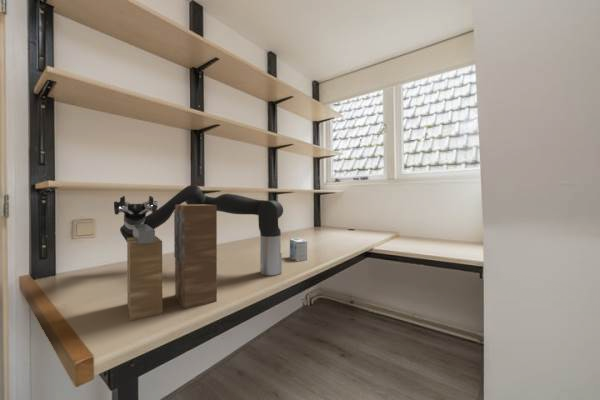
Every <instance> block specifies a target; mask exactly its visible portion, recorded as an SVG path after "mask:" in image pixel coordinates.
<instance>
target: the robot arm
mask: <svg viewBox="0 0 600 400" xmlns="http://www.w3.org/2000/svg"><path fill="white" fill-rule="evenodd" d="M183 203H186V205H192V204H206V205H217V212H222V213H226V214H231V215H255V216H258V217H257V219H258V229H259V232H260V239H259V241H260V245H259V250H260V253H259V255H260V256H259V257H260V260H259V261H260V267H259V269H260V274H261V275H263V276H277V275H281V274H282V273H283V272H282V271H283V270H282V266H283V265H282V263H283V260H282V259H283V257H282V251H281V250H282V249H281V247H282V245H281V243H282V242H281V240H282V239H281V229H280V227H279V219H280V217H282V215H283V213H284V206H283V205H282V204H281V203H280V202H279V201H277V200H273V199H272V200H268V199H267V200H264V199H263V200H262V199H255V198H251V197H248V196H243V195H239V194H232V193H223V194H220V195H218V196H216V197H213V196H207V195H205V194H204V192H203V191H202V190H201V188H200V187H199V185H197V184H190V185H188V186H186V187H184V188H183V189H181V190H180V191H179V192H178V193H177V194H175V195H174V196H172V198H170V199H169V200H168V201H166V203H164V204H163V205H162V206H160V207H159V206H158V200H154V197H152V195H149V197H148V201H144V202H142V203H131V202H128V201H126V196H125V195H122V197H120V199H119V201H114V202H113V209H114V215H119V213H123V225H122V226H121V227H120V229H119V232H120V234H121V235H122V237H123V238H124V240H125V242H127V238H130V237H134V236H133V225H137V224H147V225H148V226H149V227H151V228H152V229H154V230H156V228H158V227H160V226H161V225H163V224H165V223H166V222H167V221H168V220H169V219H170V218H171V217H172V216H173V213H174V211H175V205H183ZM158 207H159V208H158ZM149 212H151V213H149ZM147 213H149V214H148V215H147Z"/></svg>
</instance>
